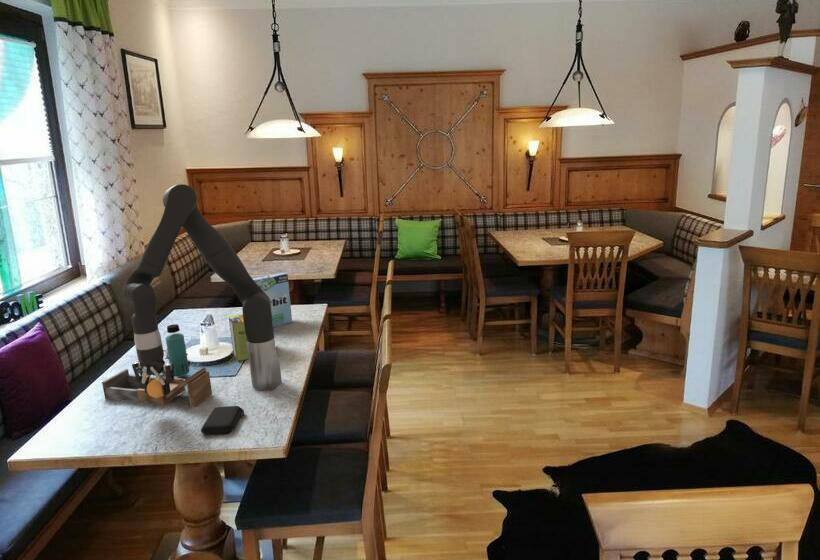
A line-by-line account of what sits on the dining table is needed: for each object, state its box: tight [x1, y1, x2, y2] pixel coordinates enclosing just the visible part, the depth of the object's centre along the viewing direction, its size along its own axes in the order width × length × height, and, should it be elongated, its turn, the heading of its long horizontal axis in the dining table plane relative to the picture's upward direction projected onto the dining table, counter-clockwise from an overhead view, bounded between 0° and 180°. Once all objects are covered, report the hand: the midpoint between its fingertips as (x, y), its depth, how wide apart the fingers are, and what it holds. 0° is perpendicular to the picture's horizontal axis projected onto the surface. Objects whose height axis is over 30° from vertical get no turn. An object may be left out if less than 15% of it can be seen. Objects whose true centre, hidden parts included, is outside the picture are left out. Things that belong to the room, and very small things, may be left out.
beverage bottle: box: [165, 323, 190, 378], centre depth 210 cm, size 6×7×20 cm
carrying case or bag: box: [200, 405, 245, 436], centre depth 177 cm, size 11×3×15 cm
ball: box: [147, 379, 163, 398], centre depth 184 cm, size 6×6×6 cm
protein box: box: [228, 313, 277, 362], centre depth 231 cm, size 10×15×16 cm
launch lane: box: [101, 367, 213, 408], centre depth 197 cm, size 36×11×10 cm, turn 74°
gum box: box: [252, 272, 293, 328], centre depth 261 cm, size 20×5×23 cm, turn 127°
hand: (158, 393), depth 185 cm, fingers closed on ball, 6 cm apart
